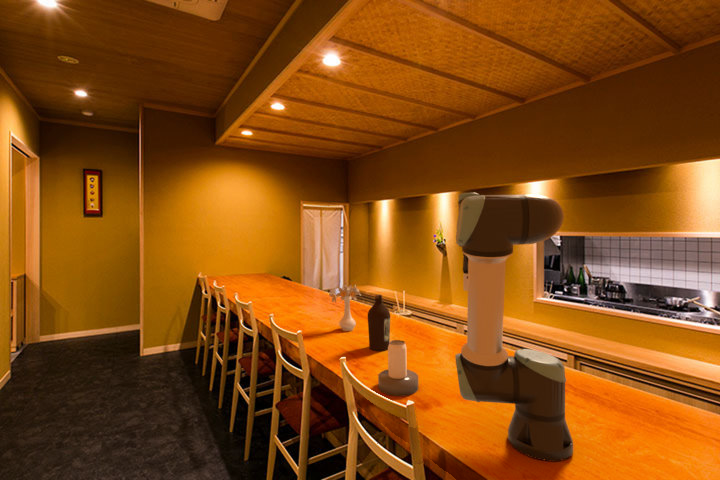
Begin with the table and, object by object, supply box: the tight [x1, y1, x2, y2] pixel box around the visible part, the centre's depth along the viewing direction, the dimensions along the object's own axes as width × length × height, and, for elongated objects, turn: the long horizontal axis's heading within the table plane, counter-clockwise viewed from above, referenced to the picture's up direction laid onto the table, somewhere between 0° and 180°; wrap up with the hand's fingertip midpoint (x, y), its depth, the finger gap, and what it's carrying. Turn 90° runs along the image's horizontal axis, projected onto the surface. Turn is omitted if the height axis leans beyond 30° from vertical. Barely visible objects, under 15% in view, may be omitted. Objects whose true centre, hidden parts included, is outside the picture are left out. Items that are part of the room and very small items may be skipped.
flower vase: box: [329, 284, 362, 332], centre depth 207 cm, size 13×18×25 cm
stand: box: [377, 369, 419, 397], centre depth 132 cm, size 14×14×4 cm
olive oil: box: [367, 294, 391, 352], centre depth 175 cm, size 11×11×25 cm
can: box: [387, 339, 408, 379], centre depth 132 cm, size 6×6×12 cm
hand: (469, 293), depth 137 cm, fingers open, 13 cm apart
